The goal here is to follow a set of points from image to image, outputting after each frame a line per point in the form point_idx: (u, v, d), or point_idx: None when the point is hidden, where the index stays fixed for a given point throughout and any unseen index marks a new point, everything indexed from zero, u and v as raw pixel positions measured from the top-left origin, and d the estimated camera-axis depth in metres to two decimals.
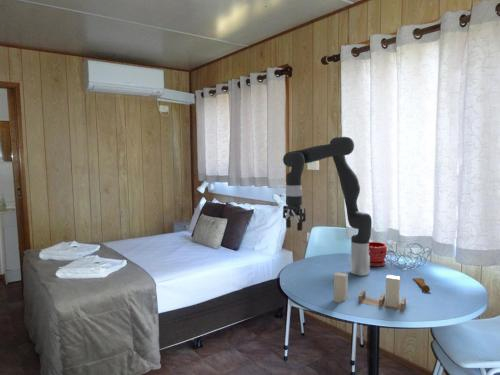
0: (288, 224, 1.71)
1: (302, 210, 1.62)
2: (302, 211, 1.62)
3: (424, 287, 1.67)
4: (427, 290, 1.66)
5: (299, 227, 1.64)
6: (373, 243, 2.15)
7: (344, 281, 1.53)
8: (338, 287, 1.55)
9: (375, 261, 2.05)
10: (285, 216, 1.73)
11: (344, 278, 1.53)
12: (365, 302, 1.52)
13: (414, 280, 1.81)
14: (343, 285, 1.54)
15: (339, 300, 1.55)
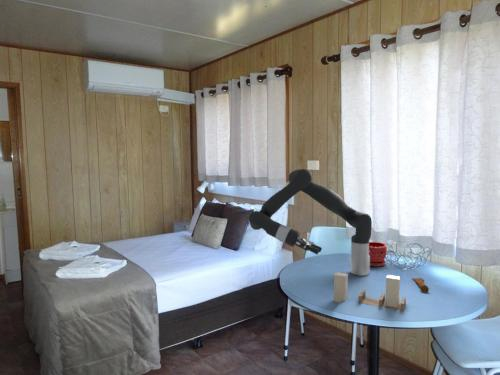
0: (317, 249, 1.65)
1: (297, 243, 1.57)
2: (298, 244, 1.57)
3: (423, 287, 1.67)
4: (426, 290, 1.66)
5: (314, 252, 1.57)
6: (373, 243, 2.15)
7: (344, 281, 1.53)
8: (338, 287, 1.55)
9: (375, 261, 2.05)
10: None
11: (344, 278, 1.53)
12: (365, 302, 1.52)
13: (414, 280, 1.81)
14: (343, 285, 1.54)
15: (339, 300, 1.55)
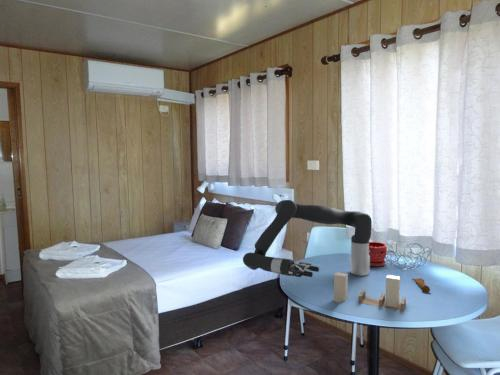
0: (315, 269, 1.65)
1: (289, 273, 1.60)
2: (290, 273, 1.60)
3: (424, 287, 1.66)
4: (427, 290, 1.66)
5: (308, 275, 1.58)
6: (373, 243, 2.15)
7: (344, 281, 1.53)
8: (338, 287, 1.55)
9: (375, 261, 2.05)
10: (308, 268, 1.69)
11: (344, 278, 1.53)
12: (365, 302, 1.52)
13: (414, 280, 1.81)
14: (343, 285, 1.54)
15: (339, 300, 1.55)
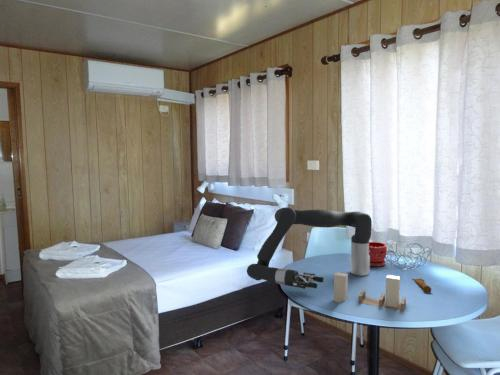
0: (319, 280, 1.65)
1: (294, 284, 1.60)
2: (295, 285, 1.59)
3: (426, 288, 1.66)
4: (429, 291, 1.66)
5: (312, 287, 1.57)
6: (373, 243, 2.15)
7: (344, 281, 1.53)
8: (338, 287, 1.55)
9: (375, 261, 2.05)
10: None
11: (344, 278, 1.53)
12: (365, 302, 1.52)
13: None
14: (343, 285, 1.54)
15: (339, 300, 1.55)
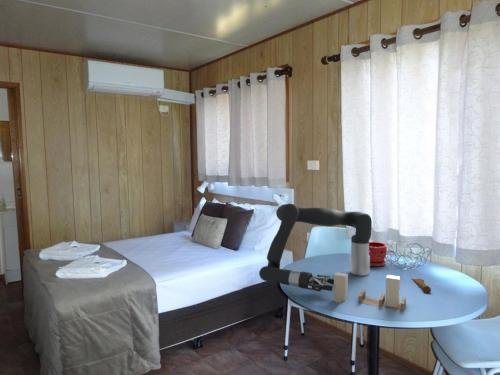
0: None
1: (308, 287, 1.56)
2: (310, 287, 1.56)
3: (425, 288, 1.66)
4: (428, 291, 1.65)
5: (328, 290, 1.54)
6: (373, 243, 2.15)
7: (344, 281, 1.53)
8: (338, 287, 1.55)
9: (375, 261, 2.05)
10: None
11: (344, 278, 1.53)
12: (365, 302, 1.52)
13: (414, 281, 1.80)
14: (343, 285, 1.54)
15: (339, 300, 1.55)
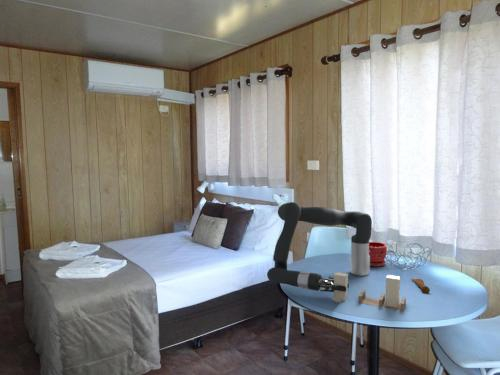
0: None
1: (321, 289, 1.54)
2: (323, 289, 1.54)
3: (424, 288, 1.65)
4: (427, 291, 1.65)
5: (341, 290, 1.53)
6: (373, 243, 2.15)
7: (344, 281, 1.53)
8: None
9: (375, 261, 2.05)
10: None
11: (344, 278, 1.53)
12: (365, 302, 1.52)
13: (413, 281, 1.80)
14: (343, 285, 1.54)
15: (339, 300, 1.55)
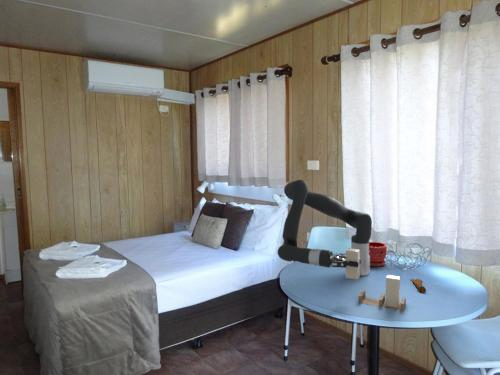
0: None
1: (333, 265, 1.52)
2: (335, 265, 1.52)
3: (420, 288, 1.65)
4: (423, 291, 1.65)
5: (354, 266, 1.51)
6: (373, 243, 2.15)
7: (356, 256, 1.51)
8: None
9: (375, 261, 2.05)
10: None
11: (356, 253, 1.51)
12: (365, 302, 1.52)
13: (412, 281, 1.80)
14: (355, 261, 1.51)
15: (351, 276, 1.53)
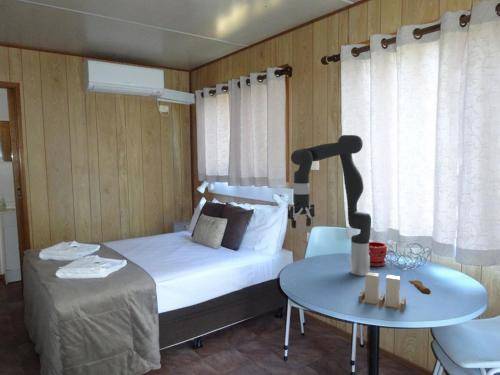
0: (307, 222, 1.70)
1: (289, 207, 1.64)
2: (289, 208, 1.64)
3: (425, 290, 1.63)
4: (428, 293, 1.63)
5: None
6: (373, 243, 2.15)
7: (376, 281, 1.50)
8: (370, 287, 1.51)
9: (375, 261, 2.05)
10: None
11: (376, 278, 1.49)
12: (365, 302, 1.52)
13: None
14: (375, 285, 1.50)
15: (371, 300, 1.51)
